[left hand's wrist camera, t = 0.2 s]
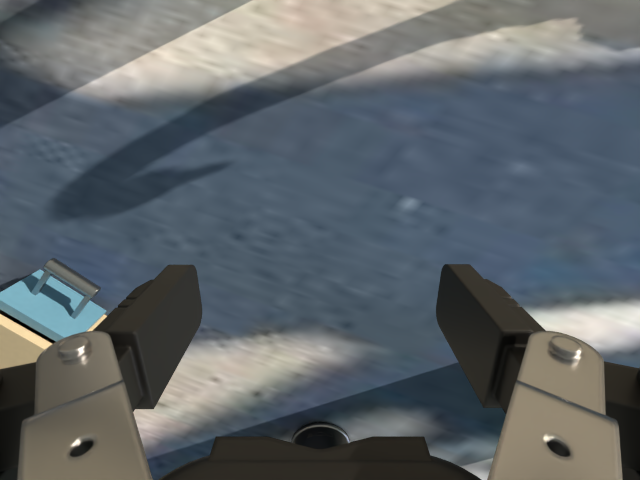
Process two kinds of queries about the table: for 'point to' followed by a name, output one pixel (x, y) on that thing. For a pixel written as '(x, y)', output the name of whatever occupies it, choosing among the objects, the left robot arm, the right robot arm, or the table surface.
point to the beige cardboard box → (22, 343)
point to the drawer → (52, 302)
